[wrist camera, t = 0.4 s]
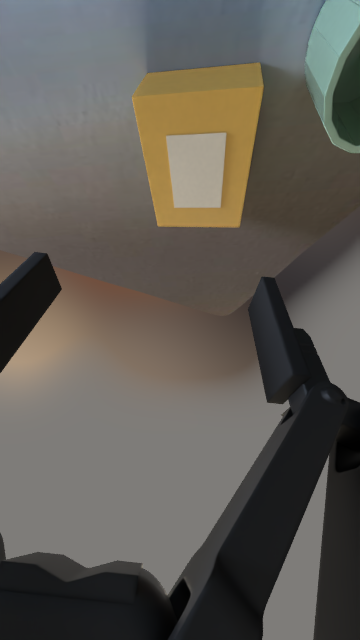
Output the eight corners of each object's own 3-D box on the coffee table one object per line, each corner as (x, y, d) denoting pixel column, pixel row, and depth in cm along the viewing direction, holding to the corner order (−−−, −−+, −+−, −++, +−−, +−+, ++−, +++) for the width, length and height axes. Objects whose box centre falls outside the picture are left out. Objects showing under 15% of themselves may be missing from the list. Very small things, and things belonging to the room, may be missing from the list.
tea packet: (147, 73, 17) (131, 96, 14) (260, 62, 16) (264, 86, 13) (165, 198, 25) (157, 227, 23) (239, 198, 24) (239, 228, 22)
